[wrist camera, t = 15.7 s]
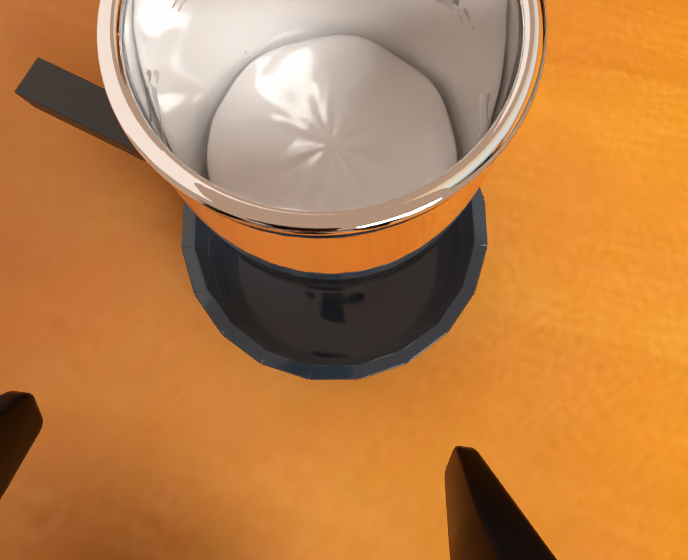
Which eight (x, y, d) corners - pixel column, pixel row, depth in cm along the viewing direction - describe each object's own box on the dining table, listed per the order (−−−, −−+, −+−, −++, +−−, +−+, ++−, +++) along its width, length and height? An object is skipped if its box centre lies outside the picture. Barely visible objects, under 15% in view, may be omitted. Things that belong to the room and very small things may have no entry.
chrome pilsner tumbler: (398, 180, 21) (525, -200, 6) (413, 310, 20) (606, 225, 5) (268, 190, 21) (82, -167, 6) (276, 322, 20) (73, 270, 5)
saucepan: (497, 324, 20) (534, 320, 16) (252, 407, 20) (229, 424, 16) (410, 101, 22) (424, 50, 18) (185, 171, 22) (149, 133, 18)
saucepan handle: (225, 155, 19) (217, 142, 18) (204, 190, 19) (194, 180, 17) (56, 73, 20) (37, 56, 18) (33, 106, 19) (13, 91, 18)
